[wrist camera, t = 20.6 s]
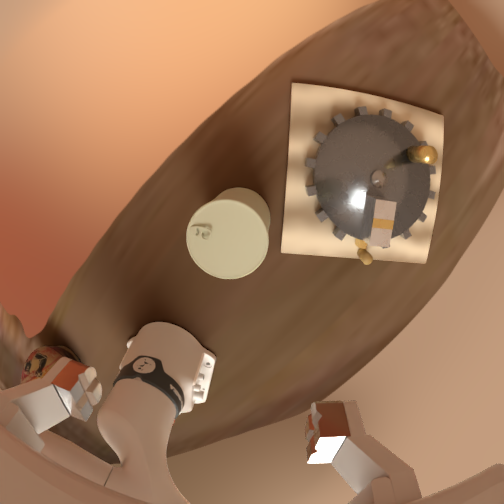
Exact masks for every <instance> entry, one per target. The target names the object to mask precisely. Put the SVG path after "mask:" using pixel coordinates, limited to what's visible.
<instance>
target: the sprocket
mask: <svg viewBox="0 0 504 504" xmlns="http://www.w3.org/2000/svg"><path fill="white" fill-rule="evenodd" d="M354 111H355V115H356V117H353V118H350V119H348V120H346V121H345V119H344V117H343V116H342V115H341V113H340V114H338V115H336V116H335V117H333V118H332V119H330V120H331V121H332V122H333V124H334V125H335V126H336V127H335V128H333V129H332V130H331V131H330V132H329V133H328V134H327V135H324V134H323V133H321V132H320V131H319V132H318V133H317V134H316V135H315V137H314V138H313V140H314V141H316V142H317V143H319V144H320V146H319V148H318V150H317V153H316V156H315V159H312V158H306V160H305V166H306V167H311V168H313V184H314V185H308V186H305V189H306V193H307V195H308V196H313V195H316V197H317V199H318V202H319V204H320V206H321V208H320V209H319V210H317V211H316V212H315V214H316V216H317V217H318V219H319V220H320V221H321V222H323V221H324V220H326V219H327V218H329V219H330V220H331V221H332V222H333V223H334V224H335V225H336V228H335V229H334V231H333V232H332V233H333V234H334V236H335V237H337V238H338V239H340V240H341V241H342V240H343V238H344V237H345V235H346V234H348V235H350V236H352V237H354V238H356V240H355V245H356V246H357V247H358V248H362V249H366V247H367V243H366V242H365V241H364V240H363V239H362V238H361V237H360V235H361V228H362V221H363V214H364V206H365V198H366V195H370V196H378V197H385V198H387V199H390V200H392V201H395V202H397V203H396V210H395V217H394V225H393V230H392V235H391V239H392V238H394V237H397V236H399V235H400V236H401V237H402V238H404V239H405V240H406V239H408V238H409V237H410V236H412V235H411V233H410V231H409V228H410V227H411V226H412V225H413V224H414V223H415V222H416V221H417V220H419V221H421V222H423V223H424V221H425V219H426V218H427V216H426V215H425V214H424V213H423V210H424V208H425V205H426V203H427V200H428V198H430V199H433V200H434V198H435V193H436V192H434V191H431V190H430V175H431V174H436V168H435V166H433V165H429V164H434V163H435V162H436V161H437V159H438V153H437V150H436V149H435V148H434V147H433V146H430V145H429V146H428V144H427V142H426V141H418V140H417V139H416V138H415V136H414V135H413V134H412V133H411V130H412V129H413V127H414V125H413V124H412V123H411V122H409V121H408V120H407V121H403V122H402V123H401V124H400V123H398V122H397V121H395V120H393V119H391V115H392V111H391V110H388V109H385V108H384V109H381V110H379V115H368V112H367V108H366V106H362V107H357V108H355V109H354ZM389 247H390V246H389ZM389 247H382V248H383V249H384V248H389Z"/></svg>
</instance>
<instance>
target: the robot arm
mask: <svg viewBox="0 0 504 504" xmlns="http://www.w3.org/2000/svg"><path fill="white" fill-rule="evenodd" d="M127 347H128V350H127V352H126V354H125V356H124V358H123V360H122V362H121V364H120V369H121V371H120V372H119V373H118V374H117V376H116V378H115V381H114V383H113V389H112V390H111V392H110V394H109V395H108V397H107V398H106V400H105V402H104V403H103V405H102V407H101V408H100V410H99V412H98V415H97V424H98V428H99V431H100V433H101V434H102V436H103V438H104V439H105V441H106V442H107V443H108V444H109V445H110V447H111V448H112V449H113V450H114V451H115V452H116V454H117V455H118V457H119V459H120V462H121V467H115V466H114V468H113V466H112V465H110V464H108V463H106V462H105V461H103V460H101V459H99V458H97V457H96V456H94V455H92V454H90V453H89V452H87V451H85V450H84V449H82V448H80V447H79V446H77V445H76V444H74V443H73V442H71V441H69V440H67V439H65V438H63V437H61V436H59V435H57V434H55V433H52V432H50V431H48V430H47V429H49V428H50V427H52V426H54V425H56V424H57V423H59V422H61V421H62V420H64V419H66V418H68V417H69V416H70V415H71V416H73V417H76V418H78V419H80V420H83V421H85V422H86V421H87V419H88V418H89V416H90V415H91V413H92V411H93V408H92V406H93V405H95V404H97V403H98V402H99V400H100V398H101V394H102V387H101V384H100V382H99V381H98V380H97V379H96V375H97V373H96V371H95V369H94V368H93V367H90V366H87V365H85V364H82V363H80V362H77V361H75V360H72V359H69V358H67V357H62V358H60V359H59V360H58V361H57V363H56V364H55V365H54V366H53V367H52V368H51V369H50V370H49V371H48V373H47V374H46V375H45V376H44V377H43V378H42V379H41V378H38V379H35V380H32V381H30V382H27V383H24V384H21V385H18V386H15V387H12V388H10V389H7V390H4V391H1V392H0V504H190V503H189V502H188V501H187V500H186V499H185V498H184V497H183V495H182V494H181V493H180V492H179V490H178V489H177V488H176V486H175V484H174V482H173V480H172V478H171V476H170V473H169V470H168V467H167V462H166V448H167V443H168V439H169V435H170V431H171V428H172V425H174V424H173V422H175V420H174V419H176V418H177V417H178V415H180V413H186V412H189V411H191V410H192V409H193V406H194V403H202V402H205V401H206V398H207V395H208V391H209V387H210V383H211V378H212V374H213V370H214V366H215V362H216V356H215V355H214V354H213V353H211V352H210V351H208V350H207V349H205V348H203V347H202V346H201V344H200V343H199V342H198V341H197V340H196V339H195V337H193V336H192V335H191V334H190V333H189V332H187V331H186V330H184V329H182V328H181V327H179V326H176V325H174V324H170V323H166V322H153V323H149V324H147V325H145V326H143V327H142V328H141V329H140V331H139V332H138V334H137V335H136V336H135V337H133V338H131V339H129V341H128V342H127ZM208 362H209V363H208ZM305 435H306V439H307V440H308V442H309V444H308V446H307V461H308V463H327V462H331V464H332V465H333V467H334V468H335V469H336V470H337V471H338V473H339V474H340V475H341V476H342V477H343V478H344V480H345V481H346V482H347V483H348V484H349V485H350V486H351V488H352V489H353V490H354V491H355V492H356V493H357V494H358V495H357V496H356V497H354V498H353V500H351V501H350V502H349V503H348V504H504V465H503V464H495V465H493V466H491V467H489V468H487V469H485V470H484V471H482V472H480V473H478V474H476V475H474V476H472V477H470V478H468V479H467V480H464V481H462V482H460V483H458V484H456V485H454V486H451V487H449V488H447V489H444V490H442V491H439V492H437V493H434V494H432V495H429V496H426V497H423V498H422V496H421V492H420V489H419V486H418V482H417V479H416V476H415V473H414V469H413V468H411V467H410V466H409V465H407V464H406V463H405V462H404V461H402V460H401V459H400V458H398V457H397V456H396V455H395V454H393V453H392V452H391V451H390V450H388V449H387V448H386V447H385V446H383V445H382V444H381V443H380V442H379V441H377V440H376V439H375V438H374V437H372V436H371V435H366V432H365V428H364V425H363V421H362V418H361V415H360V411H359V408H358V404H357V402H356V401H355V400H353V401H352V400H351V401H324V402H313V403H312V406H311V414H310V415H308V418H307V421H306V427H305Z"/></svg>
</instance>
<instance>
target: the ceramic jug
mask: <svg viewBox="0 0 504 504" xmlns="http://www.w3.org/2000/svg"><path fill="white" fill-rule="evenodd" d="M62 357H67V358H69V359H72V360H75V361H77V362H80V363H81V361H80V359H79V358H78V357H76V355H75V354H74V353H73V352H72V351H71V350H70V349H69V348H67V347H65V346H61V345H60V346H45V345H44V346H42V347H39V348H37V349H36V350H34V351H33V352H32V353H31V354H30V356H29V357H28V359H27V360H26V362H25V365H24V368H23V372H22V378H21V384H24V383H27V382H30V381H32V380H35V379H38V378H41V379H42V378H43V377H44V376H45V375H46V374H47V373H48V371H49V370H50V369H51V368H52V367H53V366H54V365H55V364H56V363H57V361H58V360H59V359H60V358H62ZM21 384H20V385H21Z"/></svg>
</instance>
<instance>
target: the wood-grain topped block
mask: <svg viewBox="0 0 504 504" xmlns="http://www.w3.org/2000/svg"><path fill="white" fill-rule="evenodd" d="M396 203H397V202H395V201H392V200H390V199H387V198H385V197H378V196H370V195H366V198H365V206H364V214H363V221H362V228H361V235H360V237H361V238H362V239H363V240H364V241H365V242H366V243H367V244H368V245H369V246H379V247H389V246H390V241H391V235H392V230H393V225H394V217H395V210H396Z"/></svg>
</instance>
